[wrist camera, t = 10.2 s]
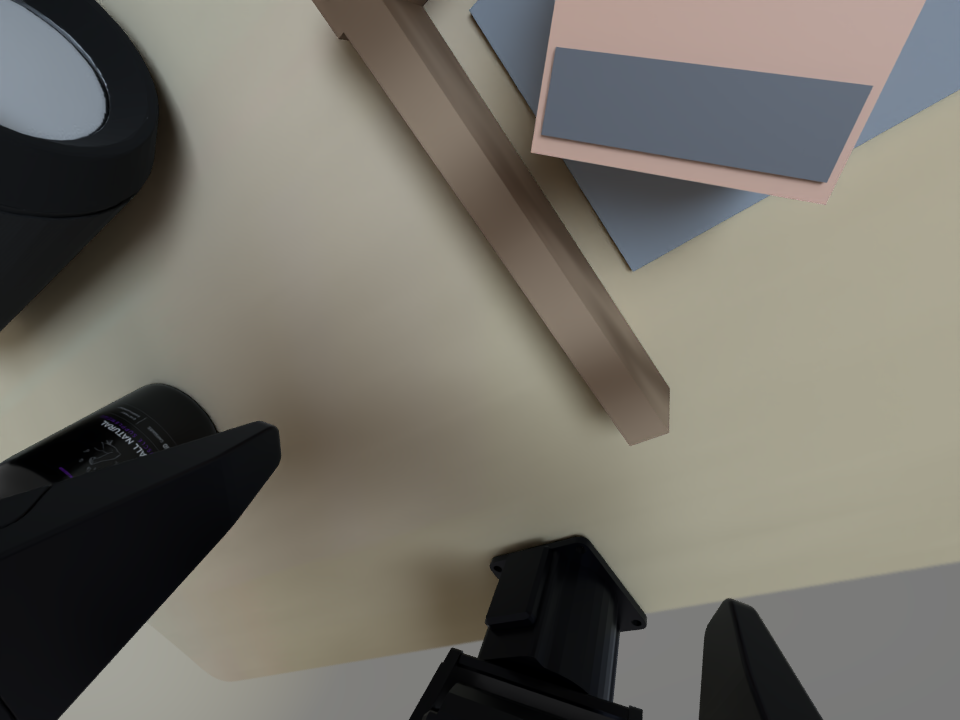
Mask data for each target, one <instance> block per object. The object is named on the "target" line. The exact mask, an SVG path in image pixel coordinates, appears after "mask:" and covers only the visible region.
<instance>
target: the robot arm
mask: <svg viewBox="0 0 960 720" xmlns="http://www.w3.org/2000/svg"><path fill="white" fill-rule="evenodd" d="M280 460H281V447H280V437H279V430H278V429H277V427H276V426H274V425H271V424H269V423H266V422H263V421H256V422H252V423H249V424H246V425H243V426H239V427H236V428H233V429H229V430H226V431H223V432H220V433H216V434H213V435H210V436H207V437H203V438H200V439H197V440H194V441H190V442H187V443H184V444H181V445H177V446H174V447H171V448H168V449H164V450H161V451H158V452H155V453H151V454H148V455H145V456H141V457H138V458H135V459H132V460H128V461H125V462H122V463H119V464H115V465H112V466H109V467H106V468H102V469H99V470H96V471H92V472H89V473H86V474H83V475H79V476H76V477H73V478H70V479H66V480H63V481H60V482H57V483H54V484H53V485H52V486H51V485H46V486H43V487H40V488H37V489H34V490H30V491H27V492H24V493H20V494H17V495H13V496H10V497H7V498H3V499H0V720H58V719H59V717H60V716H61V715H62V714H63V713H64V712H65V711H66V710H67V709H68V708H69V707H70V705H71V704H72V703H73V702H74V701H75V700H76V699H77V698H78V697H79V695H80V694H81V693H82V692H83V691H84V690H85V689H86V688H87V687H88V685H89V684H90V683H91V682H92V681H93V680H94V679H95V678H96V677H97V675H98V674H99V673H100V672H101V671H102V670H103V669H104V668H105V667H106V666H107V665H108V663H109V662H110V661H111V660H112V659H113V658H114V657H115V656H116V655H117V654H118V652H119V651H120V650H121V649H122V648H123V647H124V646H125V645H126V643H128V641H129V640H130V639H131V638H132V637H133V636H134V635H135V634H136V633H137V632H138V630H139V629H140V628H141V627H142V626H143V624H145V623H146V622H147V620H148V619H149V618H150V617H151V616H152V615H153V614H154V613H155V612H156V611H157V609H158V608H159V607H160V606H161V605H162V604H163V603H164V602H165V601H166V599H167V598H168V597H169V596H170V595H171V594H172V593H173V592H174V591H175V590H176V588H177V587H178V586H179V585H180V584H181V583H182V582H183V581H184V580H185V579H186V577H187V576H188V575H189V574H190V573H191V572H192V571H193V570H194V569H195V567H196V566H197V565H198V564H199V563H200V562H201V561H202V560H203V559H204V558H205V556H206V555H207V554H208V553H209V552H210V551H211V550H212V549H213V548H214V547H215V545H216V544H217V543H218V542H219V541H220V540H221V539H222V538H223V537H224V535H225V534H226V533H227V532H228V531H229V530H230V529H231V527H232V526H233V525H234V524H235V522H236V521H237V520H238V519H239V517H240V516H241V515H242V514H243V512H244V511H245V509H246V508H247V507H248V505H249V504H250V503H251V501H252V500H253V499H254V497H255V496H256V495H257V493H258V492H259V491H260V489H261V488H262V487H263V485H264V484H265V483H266V481H267V480H268V479H269V477H270V476H271V475H272V473H273V472H274V471H275V469H276V468H277V466H278V465H279V462H280ZM580 546H581V547H580ZM490 569H491V571H492V572H493V573H494V574H495V576H496V577H497V578H498V579H499V582H498V585H497V587H496V590H495V593H494V596H493V599H492V601H491V604H490V607H489V610H488V613H487V615H486V619H485V624H486V625H487V626H488V629H487V632H486V635H485V637H484V640H483V643H482V647H481V649H480V652H479V655H478V658H476V657H473V656H470V655H467V654H464V653H463V651H461V650H458V649H455V648H451V650H450V651H449V653H448V655H447V657H446V658H445V660H444V662H442V663H441V664H440V666H439V668H438V670H437V671H436V673H435V675H434V676H433V678H432V680H431V682H430V684H429V685H428V687H427V689H426V691H425V692H424V694H423V696H422V698H421V699H420V701H419V703H418V705H417V706H416V708H415V710H414V712H413V714H412V715H411V717H410V719H409V720H642V713H643V710H642V709H639V708H636V707H633V706H629V708H628V707H625V706H622V705H619V704H616V703H613V696H614V686H615V676H616V666H617V656H618V646H619V636H620V632H623V631H631V630H639V629H644V628H645V627H646V625H647V617H646V615H645V613H644V612H643V611H642V609H641V608H640V607H639V605H638V604H637V603H636V602H635V600H634V599H633V598H632V596H631V595H630V594H629V592H628V591H627V590H626V588H625V587H624V586H623V584H622V583H621V582H620V580H619V579H618V578H617V576H616V575H615V574H614V572H613V571H612V570H611V568H610V567H609V566H608V564H607V563H606V562H605V561H604V559H603V558H602V557H601V555H600V554H599V553H598V551H597V550H596V549H595V547H594V546H593V545H592V543H591V542H590V541H589V540H588V539H586V538H584V537H574V538H570V539H566V540H562V541H558V542H554V543H550V544H546V545H542V546H538V547H534V548H530V549H526V550H522V551H518V552H514V553H510V554H506V555H502V556H497V557H494V558H493V559H492V561H491V564H490ZM699 720H823V719H822V717H821V715H820V714H819V712H818V711H817V709H816V707H815V706H814V704H813V702H812V701H811V699H810V698H809V696H808V694H807V693H806V691H805V689H804V688H803V686H802V685H801V683H800V681H799V680H798V678H797V676H796V675H795V673H794V672H793V670H792V668H791V667H790V665H789V663H788V662H787V660H786V658H785V657H784V655H783V654H782V652H781V650H780V649H779V647H778V645H777V644H776V642H775V641H774V639H773V637H772V636H771V634H770V632H769V631H768V629H767V627H766V626H765V624H764V623H763V621H762V619H761V618H760V616H759V614H758V613H757V612H756V610H755V609H754V608H753V607H751V606H749V605H747V604H744V603H742V602H739V601H736V600H734V599H731V598H728V599H725V600H724V601H723V602H722V604H721V605H720V607H719V608H718V610H717V611H716V613H715V614H714V616H713V617H712V619H711V620H710V622H709V624H708V625H707V628H706V631H705V637H704V649H703V666H702V680H701V694H700V710H699Z"/></svg>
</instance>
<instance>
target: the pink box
mask: <svg viewBox="0 0 960 720" xmlns="http://www.w3.org/2000/svg"><path fill="white" fill-rule="evenodd" d="M925 2H926V0H555V5H554V11H553V17H552V23H551V29H550V36H549V42H548V48H547V54H546V61H545V67H544V73H543V79H542V85H541V92H540V98H539V104H538V110H537V117H536V123H535V129H534V135H533V141H532V148H531V153H537V154H542V155H548V156H553V157H559V158H565V159H570V160H576V161H582V162H587V163H593V164H598V165H604V166H610V167H615V168H621V169H627V170H632V171H638V172H643V173H649V174H655V175H660V176H666V177H672V178H677V179H683V180H689V181H694V182H700V183H705V184H711V185H717V186H722V187H728V188H734V189H739V190H745V191H750V192H756V193H762V194H767V195H773V196H779V197H784V198H790V199H795V200H801V201H807V202H812V203H818V204H824V205H826V203H827V201H828V199H829V197H830V195H831V193H832V191H833V189H834V187H835V185H836V183H837V181H838V179H839V177H840V175H841V173H842V171H843V169H844V167H845V165H846V163H847V161H848V159H849V157H850V154H851V152H852V150H853V148H854V146H855V144H856V142H857V140H858V138H859V136H860V134H861V132H862V130H863V128H864V126H865V124H866V122H867V120H868V118H869V116H870V114H871V112H872V110H873V108H874V106H875V104H876V102H877V99H878V97H879V95H880V93H881V91H882V89H883V87H884V85H885V83H886V81H887V79H888V77H889V75H890V73H891V71H892V69H893V67H894V65H895V63H896V61H897V59H898V57H899V55H900V53H901V51H902V49H903V46H904V44H905V42H906V40H907V38H908V36H909V34H910V32H911V30H912V28H913V26H914V24H915V22H916V20H917V18H918V16H919V14H920V12H921V10H922V8H923V6H924V4H925Z"/></svg>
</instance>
